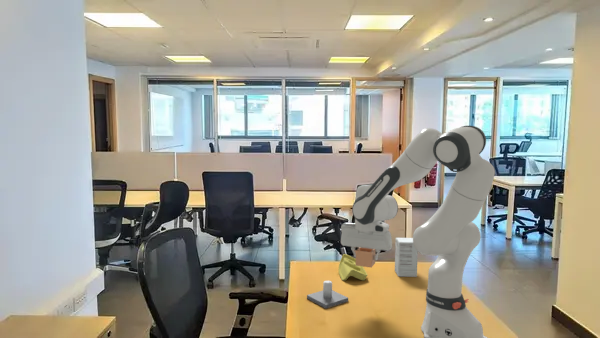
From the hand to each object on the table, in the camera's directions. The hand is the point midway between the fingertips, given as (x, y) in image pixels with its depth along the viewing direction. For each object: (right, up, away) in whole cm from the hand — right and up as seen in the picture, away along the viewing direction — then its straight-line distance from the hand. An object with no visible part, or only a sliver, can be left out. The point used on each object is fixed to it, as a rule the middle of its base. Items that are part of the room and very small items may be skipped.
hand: (365, 258), depth 168 cm
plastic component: (-1, -16, +36) cm, 39 cm away
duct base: (-15, -18, +5) cm, 24 cm away
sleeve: (0, -2, 0) cm, 2 cm away
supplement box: (+25, -16, +37) cm, 48 cm away
